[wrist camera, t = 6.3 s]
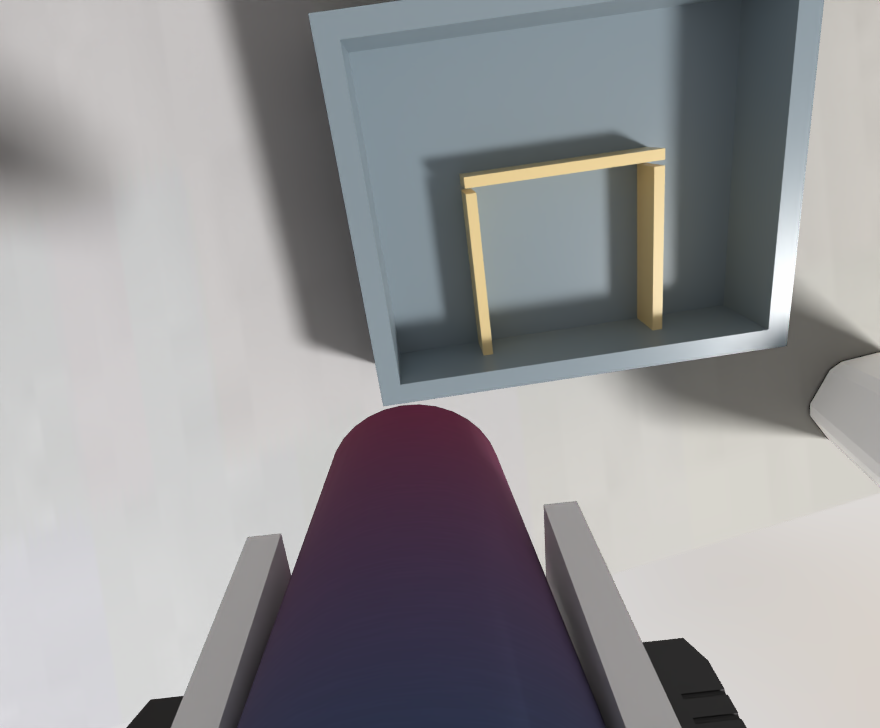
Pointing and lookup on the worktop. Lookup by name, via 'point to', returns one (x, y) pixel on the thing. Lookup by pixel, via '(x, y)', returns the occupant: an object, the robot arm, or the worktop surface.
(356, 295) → the worktop surface
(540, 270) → the walled box
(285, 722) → the cup
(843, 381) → the cup
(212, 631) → the robot arm
